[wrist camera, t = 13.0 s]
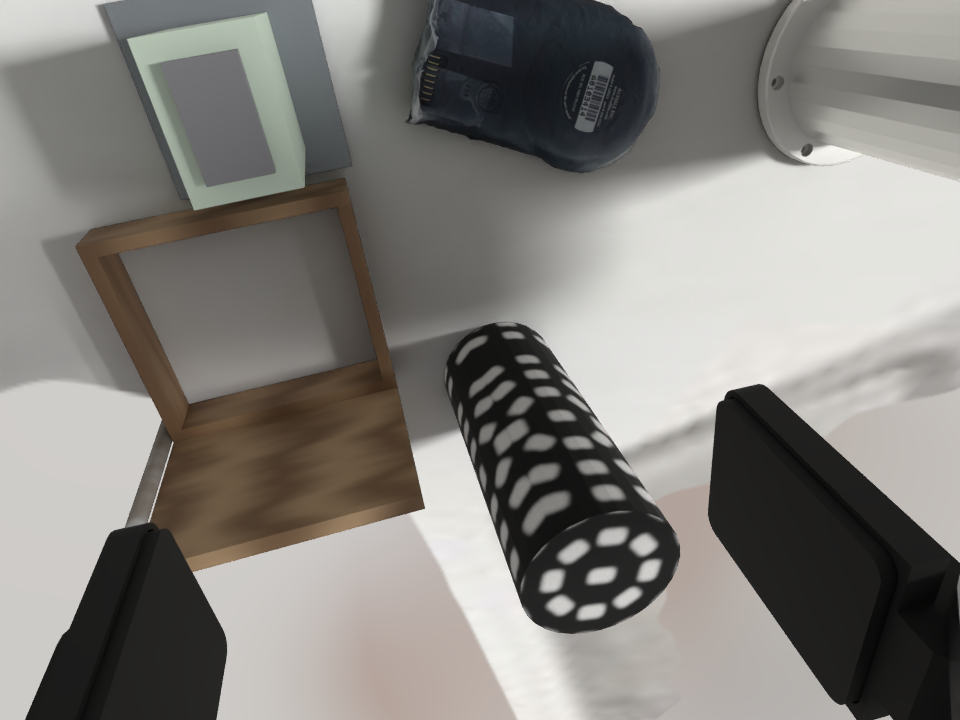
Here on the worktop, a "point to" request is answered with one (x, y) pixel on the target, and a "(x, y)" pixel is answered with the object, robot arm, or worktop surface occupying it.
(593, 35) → the dark blue pouch
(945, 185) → the worktop surface
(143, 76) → the module
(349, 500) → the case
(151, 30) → the mat
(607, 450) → the white-spotted black cylinder
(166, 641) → the robot arm
